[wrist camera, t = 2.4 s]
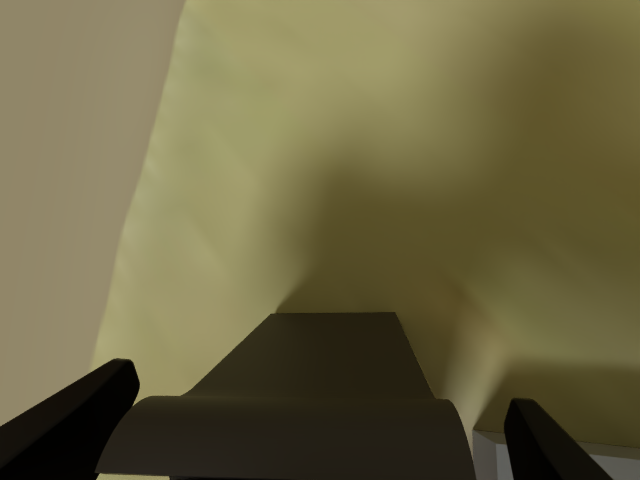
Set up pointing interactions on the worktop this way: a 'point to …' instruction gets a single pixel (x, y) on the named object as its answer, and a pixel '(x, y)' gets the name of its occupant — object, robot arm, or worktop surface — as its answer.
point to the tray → (619, 462)
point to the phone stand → (300, 411)
